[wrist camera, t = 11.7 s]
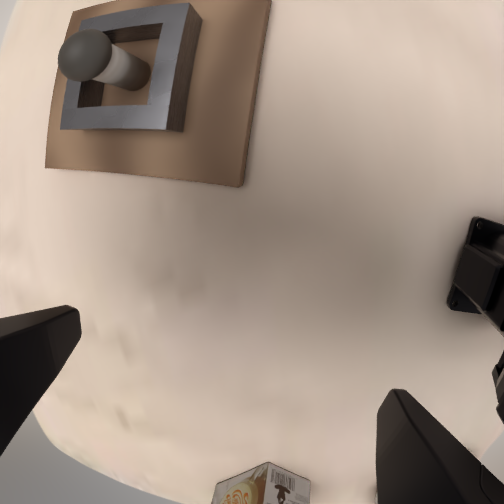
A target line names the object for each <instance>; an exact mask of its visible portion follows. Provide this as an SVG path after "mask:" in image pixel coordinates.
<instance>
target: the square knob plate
mask: <svg viewBox="0 0 504 504" xmlns="http://www.w3.org/2000/svg"><path fill="white" fill-rule="evenodd" d="M177 3H190V4H191V5H192V6H193V7H194V9H195V10H196V11H197V13H198V14H199V15H200V17H201V18H202V19H203V21H202V26H201V31H200V35H199V40H198V45H197V50H196V56H195V61H194V66H193V72H192V78H191V83H190V90H189V96H188V102H187V109H186V116H185V123H184V130H183V133H180V132H162V131H135V130H86V131H83V130H60V124H61V115H62V108H63V101H64V95H65V89H66V83H67V78H68V79H70V80H73V81H78V82H82V81H88V80H91V79H93V80H96V81H100V82H103V83H105V86H104V92H103V98H102V104H101V106H120V105H147V101H148V95H149V89H150V83H151V77H152V72H153V67H154V62H155V57H156V52H157V47H158V42H159V39H151V40H140V41H132V42H124V43H117V44H111V41H110V39H109V38H108V36H107V35H106V34H104V33H103V32H101V31H99V30H96V29H84V30H81V31H79V27H80V24H81V21H82V20H85V19H88V18H92V17H96V16H101V15H105V14H110V13H115V12H120V11H125V10H130V9H136V8H143V7H150V6H158V5H166V4H177ZM270 6H271V0H116V1H111V2H107V3H103V4H99V5H95V6H91V7H87V8H84V9H80V10H77V11H74V12H73V13H72V16H71V19H70V23H69V26H68V29H67V33H66V36H65V40H64V43H63V45H62V47H61V49H60V51H59V55H58V69H57V74H56V79H55V84H54V90H53V96H52V102H51V109H50V117H49V125H48V134H47V145H46V159H45V168H53V169H71V170H86V171H100V172H112V173H123V174H134V175H144V176H154V177H163V178H172V179H180V180H188V181H196V182H204V183H211V184H218V185H225V186H232V187H240V186H242V185H243V179H244V172H245V165H246V158H247V151H248V145H249V138H250V131H251V124H252V118H253V111H254V105H255V98H256V92H257V85H258V79H259V73H260V66H261V60H262V54H263V48H264V42H265V36H266V30H267V24H268V18H269V12H270Z"/></svg>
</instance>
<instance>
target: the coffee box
mask: <svg viewBox="0 0 504 504" xmlns="http://www.w3.org/2000/svg"><path fill="white" fill-rule="evenodd" d="M211 504H310V481H309V480H307V479H305V478H302V477H300V476H298V475H295V474H293V473H291V472H288V471H286V470H284V469H282V468H280V467H278V466H275V465H273V464H271V463H269V462H267V463H265V464H263V465H261V466H259V467H256V468H254V469H252V470H250V471H248V472H245V473H243V474H241V475H238V476H236V477H234V478H231V479H229V480H226V481H224V482H221V483H219V484H217V485H216V487H215V492H214V495H213V499H212V503H211Z"/></svg>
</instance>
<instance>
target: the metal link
mask: <svg viewBox="0 0 504 504" xmlns="http://www.w3.org/2000/svg"><path fill="white" fill-rule="evenodd" d="M202 21H203V19H202V18H201V17H200V15H199V14H198V13H197V11H196V10H195V9H194V7H193V6H192V5H191V4H190V3H177V4H166V5H158V6H150V7H143V8H136V9H130V10H125V11H120V12H115V13H110V14H105V15H101V16H96V17H92V18H88V19H85V20H82V21H81V24H80V27H79V31H81V30H84V29H96V30H99V31H101V32H103V33H104V34H106V35H107V36H108V38H109V39H110V41H111V44H117V43H124V42H132V41H140V40H151V39H159V42H158V47H157V52H156V57H155V62H154V67H153V72H152V77H151V83H150V89H149V95H148V101H147V105H120V106H101V104H102V98H103V92H104V86H105V83H103V82H100V81H96V80H93V79H91V80H88V81H82V82H78V81H73V80H70V79H68V78H67V83H66V89H65V95H64V101H63V108H62V115H61V124H60V130H83V131H86V130H135V131H162V132H180V133H183V130H184V123H185V116H186V109H187V102H188V96H189V90H190V83H191V78H192V72H193V66H194V61H195V56H196V50H197V45H198V40H199V35H200V31H201V26H202Z"/></svg>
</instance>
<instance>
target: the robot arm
mask: <svg viewBox="0 0 504 504" xmlns="http://www.w3.org/2000/svg"><path fill="white" fill-rule="evenodd" d="M478 222H480V225H479V227H478V228H477V224H478ZM455 300H456V302H455V303H454V304H452V303H453V302H454V301H455ZM447 305H448V307H449V308H450V309H451V310H454V311H462V312H469V313H476V314H483V316H484V317H485V318H486V319H487V320H488V321H489V322H490V323H491V324H492V325H493V326H494V327H495V328H496V329H497V330H498V331H499V332H500V333H501V335H502V336H503V337H504V225H502V224H499V223H496V222H493V221H490V220H487V219H484V218H481V217H474V218H473V220H472V222H471V226H470V230H469V234H468V238H467V241H466V245H465V247H464V250H463V253H462V257H461V260H460V263H459V266H458V270H457V273H456V276H455V279H454V284H453V286H452V289H451V292H450V295H449V298H448V300H447ZM81 334H82V331H81V322H80V314H79V311H78V310H77V309H76V308H74V307H71V306H69V305H63V306H58V307H54V308H49V309H44V310H39V311H34V312H29V313H25V314H20V315H15V316H10V317H5V318H0V456H1V455H2V453H3V452H4V450H5V449H6V447H7V446H8V444H9V443H10V441H11V440H12V438H13V437H14V435H15V434H16V432H17V431H18V429H19V428H20V426H21V425H22V423H23V422H24V421H25V419H26V418H27V416H28V415H29V414H30V412H31V411H32V409H33V408H34V407H35V405H36V404H37V402H38V401H39V400H40V398H41V397H42V396H43V394H44V393H45V392H46V390H47V389H48V388H49V386H50V385H51V384H52V382H53V381H54V380H55V378H56V377H57V375H58V374H59V372H60V371H61V369H62V368H63V366H64V364H65V363H66V361H67V359H68V358H69V356H70V355H71V353H72V351H73V350H74V348H75V347H76V345H77V343H78V342H79V340H80V338H81ZM492 376H493V380H494V384H495V388H496V394H497V399H498V403H499V404H498V406H497V408H496V410H497V413H498V415H499V417H500V419H501V421H502V422H503V424H504V351H503V353H502V356H501V358H500V360H499V362H498V364H496V365H495V367H494V369H493V371H492ZM376 478H377V501H378V504H504V484H503V483H502V482H501V481H499V480H498V479H497V478H496V477H495V476H494V475H493V474H492V473H491V472H490V471H489V470H488V469H487V468H486V467H485V466H484V465H481V462H480V461H479V460H478V459H477V458H476V457H474V456H473V455H472V454H471V453H470V452H469V451H468V450H467V449H466V448H465V447H464V446H463V445H462V444H461V443H460V442H459V441H458V440H457V439H456V438H455V437H454V436H453V435H452V434H451V433H450V432H449V431H448V430H447V429H446V428H445V427H444V426H443V425H442V424H440V423H439V422H438V421H437V420H436V419H435V418H434V417H433V416H432V415H431V414H430V413H429V412H428V411H427V410H426V409H425V408H424V407H423V406H422V405H421V404H420V403H419V402H418V401H417V400H416V399H415V398H414V397H412V396H411V395H410V394H409V393H408V392H407V391H406V390H404V389H392V390H390V391H389V393H388V395H387V396H386V398H385V400H384V401H383V403H382V405H381V406H380V408H379V410H378V413H377V439H376Z"/></svg>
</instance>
